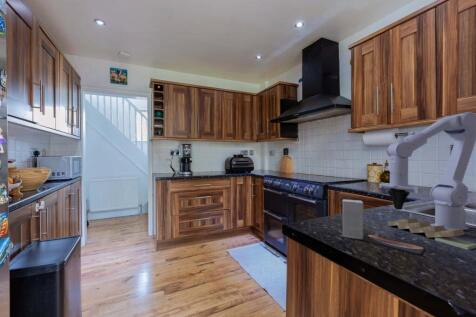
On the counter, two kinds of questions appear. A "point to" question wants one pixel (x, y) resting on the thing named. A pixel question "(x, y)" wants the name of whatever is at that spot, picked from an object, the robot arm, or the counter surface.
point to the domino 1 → (403, 221)
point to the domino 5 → (456, 242)
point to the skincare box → (353, 219)
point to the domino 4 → (445, 233)
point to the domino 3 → (427, 229)
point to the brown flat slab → (394, 244)
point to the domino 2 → (413, 225)
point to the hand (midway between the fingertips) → (398, 209)
